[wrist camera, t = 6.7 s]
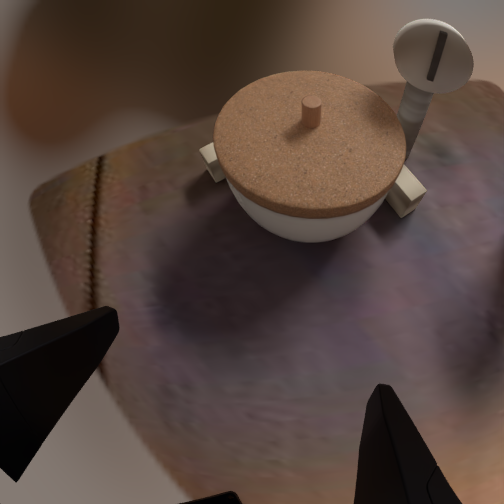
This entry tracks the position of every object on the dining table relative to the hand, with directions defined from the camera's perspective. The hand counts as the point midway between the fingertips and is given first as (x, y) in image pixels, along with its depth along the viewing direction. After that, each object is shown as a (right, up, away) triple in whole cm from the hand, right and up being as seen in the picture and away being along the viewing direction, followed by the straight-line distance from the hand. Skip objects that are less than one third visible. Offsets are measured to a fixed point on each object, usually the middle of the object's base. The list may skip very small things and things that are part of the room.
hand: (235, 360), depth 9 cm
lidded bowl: (+5, +8, +18) cm, 20 cm away
